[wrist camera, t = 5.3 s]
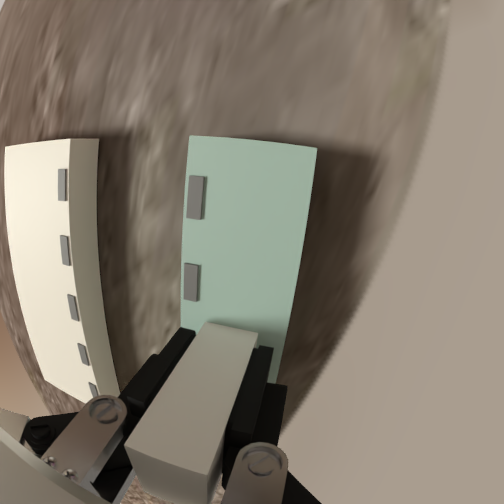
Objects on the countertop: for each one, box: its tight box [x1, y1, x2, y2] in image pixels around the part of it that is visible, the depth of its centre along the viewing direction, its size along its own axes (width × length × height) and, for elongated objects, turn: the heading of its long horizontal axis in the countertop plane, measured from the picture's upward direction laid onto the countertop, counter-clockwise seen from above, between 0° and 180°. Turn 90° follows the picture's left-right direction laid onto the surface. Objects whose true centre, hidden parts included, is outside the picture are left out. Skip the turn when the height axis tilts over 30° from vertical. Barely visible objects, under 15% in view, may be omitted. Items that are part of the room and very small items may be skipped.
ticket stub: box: [124, 136, 317, 504], centre depth 9 cm, size 16×4×8 cm, turn 173°
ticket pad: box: [5, 139, 120, 403], centre depth 14 cm, size 16×6×2 cm, turn 173°
